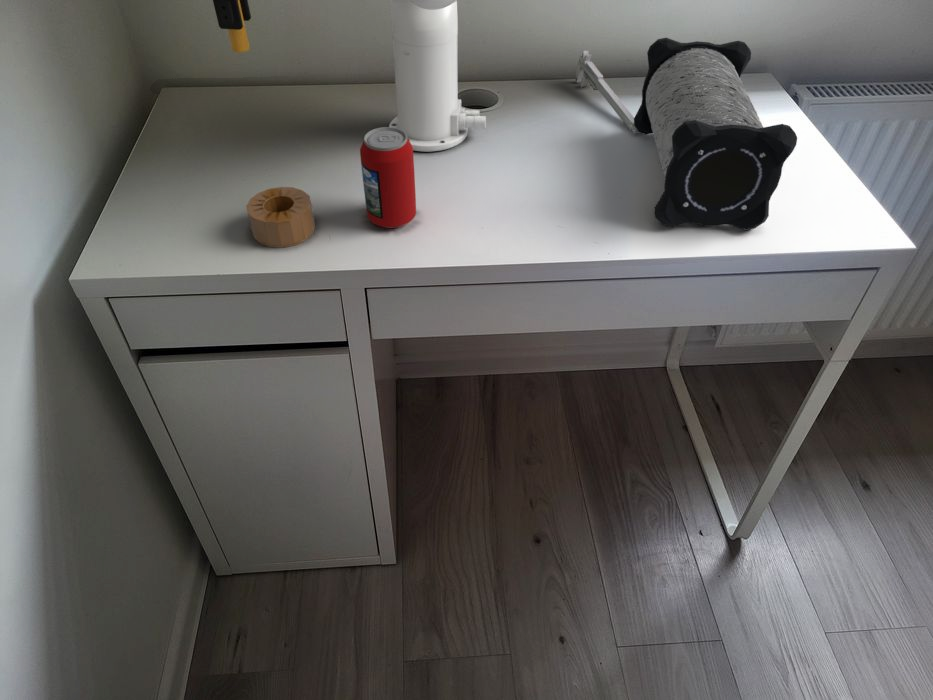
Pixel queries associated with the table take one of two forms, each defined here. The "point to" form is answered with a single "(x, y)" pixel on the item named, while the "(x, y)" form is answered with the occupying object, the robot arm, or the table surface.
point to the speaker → (709, 136)
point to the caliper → (602, 88)
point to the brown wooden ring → (281, 217)
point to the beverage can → (388, 177)
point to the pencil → (239, 37)
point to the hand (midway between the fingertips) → (235, 22)
